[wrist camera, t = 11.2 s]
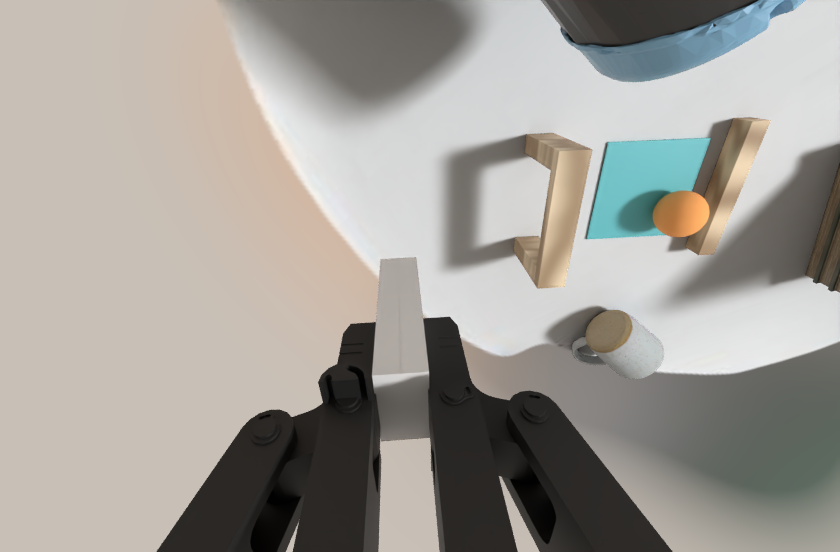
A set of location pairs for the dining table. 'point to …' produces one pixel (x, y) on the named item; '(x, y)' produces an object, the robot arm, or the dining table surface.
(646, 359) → the ceramic mug
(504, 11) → the dining table surface
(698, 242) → the stopper
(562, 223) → the bridge
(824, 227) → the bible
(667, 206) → the ball
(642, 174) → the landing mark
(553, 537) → the robot arm
